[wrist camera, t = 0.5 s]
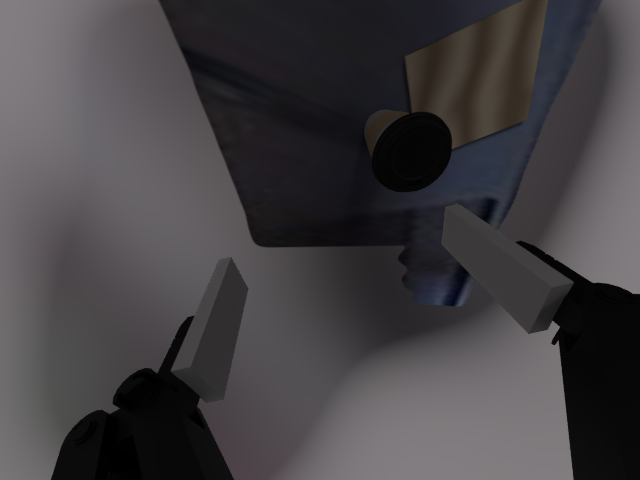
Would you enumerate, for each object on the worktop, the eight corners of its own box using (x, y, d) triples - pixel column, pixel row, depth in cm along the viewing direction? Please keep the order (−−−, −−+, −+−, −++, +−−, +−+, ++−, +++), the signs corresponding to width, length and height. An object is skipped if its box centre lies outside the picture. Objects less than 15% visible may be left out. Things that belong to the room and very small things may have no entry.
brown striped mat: (546, -11, 29) (550, -13, 28) (524, 119, 39) (527, 119, 38) (404, 56, 32) (405, 56, 32) (417, 160, 42) (418, 162, 41)
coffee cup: (370, 167, 42) (396, 210, 31) (342, 122, 37) (361, 153, 26) (418, 133, 39) (468, 167, 27) (395, 79, 34) (444, 93, 22)
